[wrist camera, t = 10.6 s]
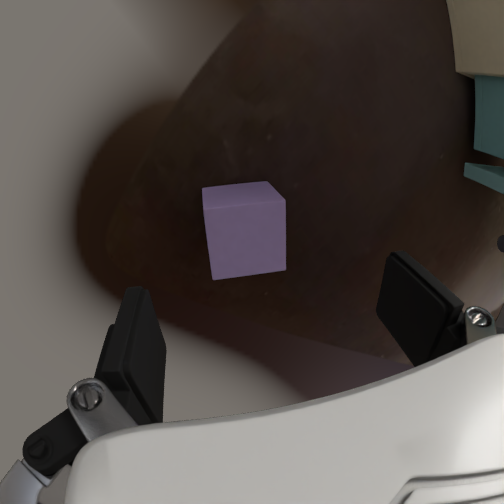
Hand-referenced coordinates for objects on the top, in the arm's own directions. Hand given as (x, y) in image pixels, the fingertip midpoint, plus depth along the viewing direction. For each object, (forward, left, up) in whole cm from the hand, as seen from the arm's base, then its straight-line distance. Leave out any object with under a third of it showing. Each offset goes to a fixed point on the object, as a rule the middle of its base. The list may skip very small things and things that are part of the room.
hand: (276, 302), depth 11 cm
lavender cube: (0, 0, -9) cm, 9 cm away
